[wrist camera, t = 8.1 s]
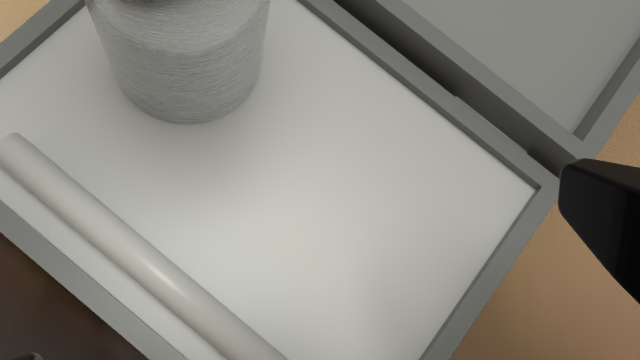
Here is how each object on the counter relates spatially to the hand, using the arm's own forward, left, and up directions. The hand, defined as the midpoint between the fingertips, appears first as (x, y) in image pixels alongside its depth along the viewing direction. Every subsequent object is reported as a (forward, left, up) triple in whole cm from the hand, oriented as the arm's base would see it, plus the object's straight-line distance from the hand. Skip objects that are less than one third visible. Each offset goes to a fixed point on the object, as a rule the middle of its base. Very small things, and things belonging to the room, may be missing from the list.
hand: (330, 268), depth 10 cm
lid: (+3, -2, -9) cm, 10 cm away
